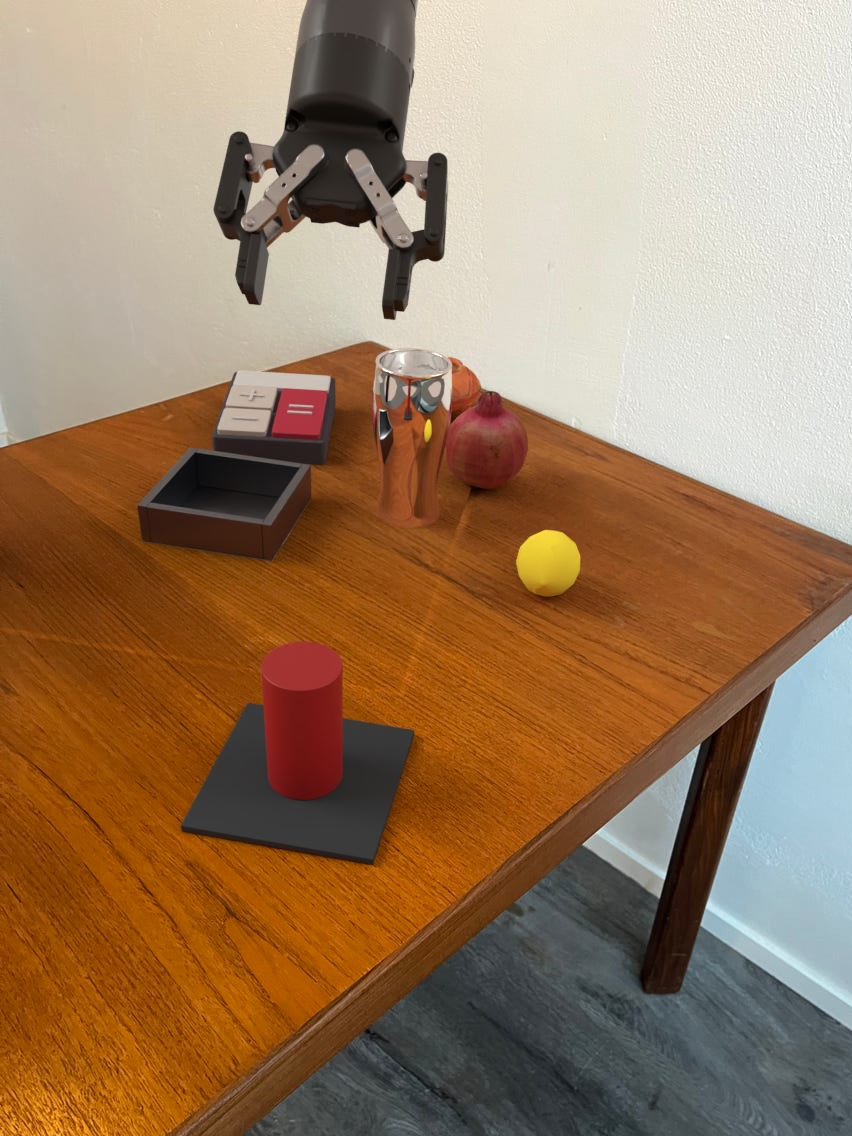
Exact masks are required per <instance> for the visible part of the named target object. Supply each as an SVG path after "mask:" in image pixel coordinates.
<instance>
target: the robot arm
mask: <svg viewBox="0 0 852 1136" xmlns="http://www.w3.org/2000/svg"><path fill="white" fill-rule="evenodd" d="M418 4H419V0H306V2H305V5H304V8H303V11H302V15H301V18H300V21H299V28H298V34H297V39H296V45H295V46H296V47H295V52H294V59H293V67H292V73H291V80H290V86H289V93H288V99H287V106H286V113H285V119H284V126H283V132H282V134H281V136H280V138H279V139H278V141H277V142H276V143H275V144H274V145H268V144H261V143H257V142H256V143H255V142H250V138H249V136H248V134H247V133H245V132H244V131H234V132H233V133H232V134H231V135H230V136H229V140H228V144H227V148H226V152H225V156H224V160H223V161H224V162H223V165H222V170H221V173H220V179H219V181H218V182H219V183H218V187H217V191H216V196H215V200H214V204H213V208H212V209H213V214H214V216H215V218H216V221H217V223H218V225H219V227H220V230H221V232H222V234H223V236H224V237H225V238H226V240H229V241H233V240H237V241H239V247H238V254H237V261H236V267H235V273H234V276H235V281H236V284H237V286H238V288H239V290H240V293H241V295H244V297H245V299H246V301H247V304H248V305H253V306H261V305H262V302H263V297H264V290H265V289H264V288H265V283H266V276H267V270H268V263H269V256H270V253H269V250H268V248H269V247H270V246H271V245H272V244H273V243H275V241H276V240H277V239H279V237H280V236H281V235H282V234H284V233H286V234H289V233H290V232H291V231H293V230H294V229H295V228H296V227H297V226H298V225H299V224H300V223H301V222H302V221H303V220H304V219H305V218H308V219H310V223H312V224H313V223H314V224H322V225H325V224H331V223H336V224H340V225H343V226H344V227H345V226H346V227H350V228H360V227H361V224H365V223H367V222H369V224H370V225H371V227H372V228H373V230H374V232H375V233H376V234H377V236H378V238H379V239H380V241H381V242H382V243H383V244H385V245H386V247H387V249H388V252H387V260H386V268H385V275H384V282H383V289H382V290H383V291H382V297H381V298H382V299H381V311H382V315H383V319H384V320H389V321H390V320H392V321H396V319H397V312H402V313H404V312H405V311H406V309H407V308H408V306H409V301H410V291H411V283H412V276H413V269H414V267H415V265H417V263H419V262H422V261H425V260H429V261H431V262H435V263H436V262H440V261H441V260H443V258H444V256H445V251H446V250H445V249H446V232H447V214H448V211H447V210H448V197H449V196H448V195H449V169H448V166H449V165H448V157H447V156H446V155H445V154H444V153H442V152H433V153H432V154H431V155H429V157H428V159H427V160H409V159H408V160H407V159H406V158H405V156H404V154H403V152H404V151H403V150H404V144H405V143H404V142H405V135H406V127H407V118H408V111H409V105H410V96H411V88H412V87H413V84H414V79H415V69H414V65H415V56H416V19H417V11H418ZM270 169H274V170H275V173H276V175H277V176H278V177H277V178H276V179H274V181H272V183H270V184H269V186H267V188H265V190H264V192H263V195H262V198H261V199H260V200H259V201H258V202H256V204H255V205H254V206H253V207H251V208H250V209H249V210H248V205H249V201H250V198H251V197H250V196H251V193H252V188H253V183H254V184H258V183H260V182H261V179H262V178H263V177H264V175H265V172H267V170H270ZM407 183H410V184H411V185H412V186H413V187H414V189H415V194H416V196H417V197H418V198H419V199H421V200H423V202H425V206H424V223H423V226H424V227H423V229H419V230H416V231H411V230H410V228H409V226H408V224H406V222H405V220H404V219H403V218H402V216H401V214H400V213H399V209H398V208H397V205H396V203H395V201H394V199H393V198H394V197H396V196H397V194H398V193H400V191H402V190H403V189H404V187H405V186H406V184H407ZM290 199H291V200H290ZM247 210H248V211H247Z"/></svg>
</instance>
